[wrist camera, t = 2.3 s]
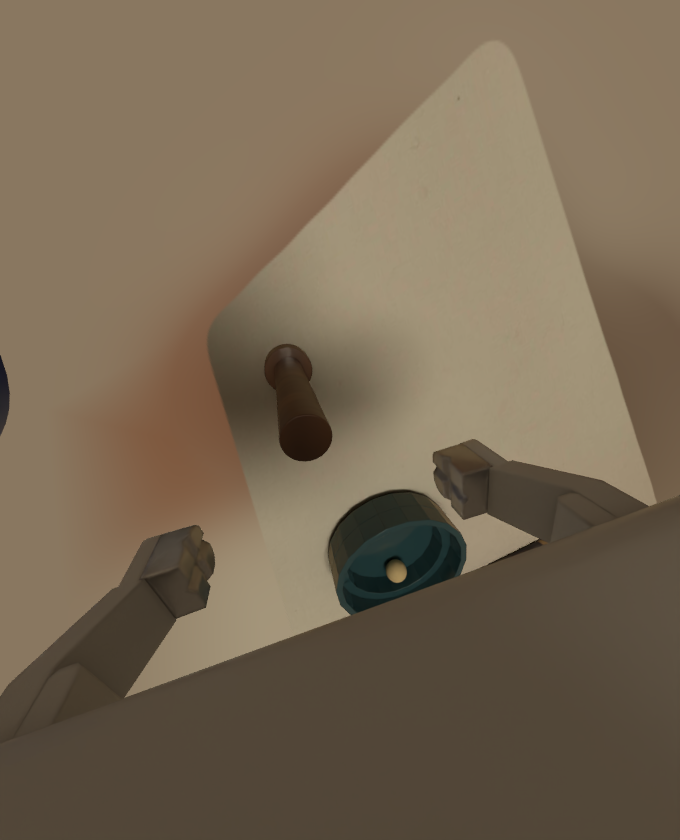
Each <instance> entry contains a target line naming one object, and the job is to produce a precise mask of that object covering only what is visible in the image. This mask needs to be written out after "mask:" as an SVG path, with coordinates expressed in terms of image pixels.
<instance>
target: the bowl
mask: <svg viewBox="0 0 680 840" xmlns="http://www.w3.org/2000/svg"><path fill="white" fill-rule="evenodd" d="M328 558H329V562H330V567H331V571H332V576H333V580H334V585H335V589H336V593H337V596H338V599H339V602H340V605H341V606H342V607H343V608H344V609H345V610H346V611H347V612H348V613H349V614H350V615H353V614H356V613H359V612H361V611H364V610H367V609H370V608H372V607H375V606H378V605H381V604H383V603H386V602H389V601H392V600H394V599H397V598H400V597H402V596H405V595H408V594H411V593H413V592H416V591H419V590H422V589H424V588H427V587H430V586H433V585H435V584H438V583H441V582H443V581H446V580H449V579H452V578H454V577H457V576H460V574H461V572H462V569H463V566H464V564H465V561H466V543H465V541H464V539H463V537H462V535H461V533H460V532H459V530H458V529H457V528H456V527H455V525H454V524H453V523H452V522H451V520H450V519H449V518H448V517H447V516H446V514H445V513H444V512H443V511H442V509H441V508H440V507H439V506H438V505H437V504H436V503H434V502H433V501H432V500H430V499H429V498H428V497H426V496H422V495H418V494H415V493H392V494H388V495H385V496H382V497H379V498H376V499H372V500H370V501H369V502H367V503H365V504H364V505H362V506H360V507H359V508H357V509H356V510H354V511H352V512H351V514H350V515H349V516H348V517H347V518H346V519H345V520H344V521H343V522H342V523H341V524H340V525H339V526H338V528H337V530H336V532H335V534H334V536H333V537H332V539H331V541H330V548H329V555H328ZM394 559H397V560H400V561H401V562H403V563H404V565H405V567H406V570H407V575H406V578H405V579H404V580H403V581H402V582H399V583H395V582H392V581H391V580H390V579H389V578H388V577H387V574H386V566H387V564H388V562H389V561H391V560H394Z"/></svg>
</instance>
